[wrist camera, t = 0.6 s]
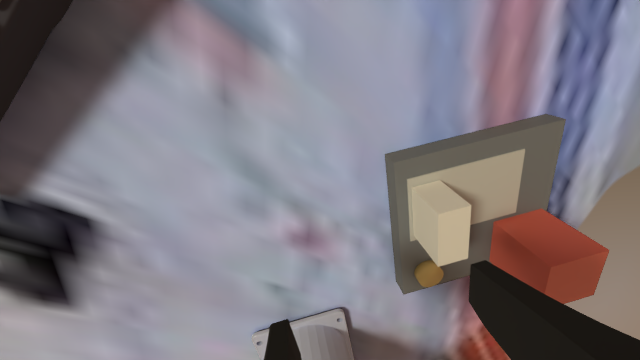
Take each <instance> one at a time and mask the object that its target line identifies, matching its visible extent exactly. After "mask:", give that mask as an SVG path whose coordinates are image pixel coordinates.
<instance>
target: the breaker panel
mask: <svg viewBox="0 0 640 360" xmlns="http://www.w3.org/2000/svg"><path fill="white" fill-rule="evenodd" d="M565 120H566V119H563V118H559V117H556V116H552V115H548V114H544V115H540V116H536V117H532V118H528V119H524V120H520V121H516V122H512V123H508V124H504V125H500V126H496V127H492V128H488V129H484V130H480V131H476V132H472V133H468V134H464V135H460V136H456V137H452V138H448V139H444V140H440V141H436V142H432V143H428V144H424V145H420V146H416V147H412V148H408V149H404V150H400V151H396V152H392V153H388V154H385V161H386V173H387V184H388V195H389V207H390V218H391V229H392V241H393V252H394V263H395V274H396V282H397V284H398V285H399V287H400V289H401V291H402V293H403V294H407V293H410V292H414V291H417V290H421V289H424V288H428V287H432V286H435V285H438V284H441V283H445V282H448V281H452V280H455V279H459V278H462V277H466V276H469V275H470V267H471V264H474V263H477V262H480V261H484V260H486V261H488V262H490V261H489V260H490V250H491V241H492V232H493V223H494V222H495V221H498V220H502V219H505V218H509V217H513V216H516V215H520V214H524V213H527V212H531V211H534V210H538V209H543V210H545V211H546V212H547V207H548V202H549V197H550V192H551V188H552V183H553V178H554V173H555V168H556V164H557V159H558V154H559V149H560V144H561V140H562V135H563V130H564V125H565ZM438 180H440V181H442V182H443V183H444V184H445V185H447V186H448V187H449V188H450V189H452V190H453V191H454V192H455V193H457V194H458V195H459V196H460V197H462V198H463V199H464V200H465V201H467V202H468V203H469V204H470V205H471V220H470V235H469V250H468V258H467V259H464V260H460V261H457V262H453V263H450V264H446V265H443V266H439V267H438V266H437V265H436V264H435V262H434V261H433V260H432V258H431V257H430V256H429V254H428V253H427V252H426V251H425V249H424V248H423V247H422V245H421V244H420V243H419V242H418V240H417V239H416V238H415V236H414V232H413V210H412V187H415V186H419V185H423V184H427V183H431V182H435V181H438ZM490 263H491V262H490ZM491 264H492V263H491Z"/></svg>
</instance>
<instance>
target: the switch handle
mask: <svg viewBox="0 0 640 360" xmlns="http://www.w3.org/2000/svg"><path fill="white" fill-rule="evenodd" d="M412 210H413V232H414V236H415V238H416V239H417V240H418V242H419V243H420V244H421V245H422V247H423V248H424V249H425V251H426V252H427V253H428V254H429V256H430V257H431V258H432V260H433V261H434V262H435V264H436V265H437V266H438V267H439V266H443V265H446V264H450V263H453V262H457V261H460V260H464V259H467V258H468V250H469V235H470V220H471V205H470V204H469V203H468V202H467V201H465V200H464V199H463V198H462V197H460V196H459V195H458V194H457V193H455V192H454V191H453V190H452V189H450V188H449V187H448V186H447V185H445V184H444V183H443V182H442V181H440V180H438V181H435V182H431V183H427V184H423V185H419V186H415V187H412Z"/></svg>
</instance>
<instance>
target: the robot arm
mask: <svg viewBox="0 0 640 360" xmlns="http://www.w3.org/2000/svg"><path fill="white" fill-rule="evenodd" d="M469 302H470V304H471V305H472V307H473V309H474V310H475V312H476V314H477V315H478V317H479V318H480V320H481V321H482V323H483V324H484V326H485V327H486V329H487V330H488V331H489V332H490V334H491V335H492V336H493V337H494V339H495V340H496V341H497V343H498V344H499V345H500V346H501V348H502V349H503V350H504V351H505V353H506V354H507V355H508V356H509V357H510V359H511V360H640V340H638V339H636V338H633V337H631V336H629V335H627V334H624V333H622V332H620V331H618V330H615V329H613V328H611V327H609V326H607V325H604V324H602V323H600V322H598V321H596V320H594V319H592V318H590V317H587V316H586V315H584V314H582V313H580V312H578V311H576V310H574V309H572V308H570V307H568V306H566V305H564V304H562V303H560V302H558V301H557V300H555V299H553V298H551V297H549V296H547V295H545V294H544V293H542V292H540V291H538V290H536V289H535V288H533V287H531V286H529V285H528V284H526V283H524V282H522V281H521V280H519V279H517V278H515V277H514V276H512V275H510V274H509V273H507V272H505V271H503V270H502V269H500V268H498V267H497V266H495V265H493V264H491V263H490V262H488V261H486V260H484V261H480V262H477V263H474V264H471V267H470V287H469ZM252 342H253V344H254V346H255V348H256V351H257V353H258V355H259V357H260V359H261V360H354V356H353V351H352V347H351V342H350V338H349V333H348V328H347V324H346V319H345V315H344V311H343V310H342V309H335V310H331V311H328V312H324V313H321V314H318V315H314V316H311V317H307V318H304V319H300V320H297V321H293V322H290V323H289V320H288V319H286V320H283V321H280V322H276V323H273V324H271V326H270V327H269V329H266V330H262V331H259V332H256V333H254V334H253V335H252Z"/></svg>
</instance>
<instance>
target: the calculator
mask: <svg viewBox="0 0 640 360" xmlns="http://www.w3.org/2000/svg"><path fill="white" fill-rule="evenodd" d="M72 1H73V0H0V121H1V119H2V118H3V116H4V114H5V112H6V111H7V109H8V107H9V106H10V104H11V102H12V100H13V98H14V97H15V95H16V93H17V91H18V89H19V88H20V86H21V84H22V82H23V80H24V79H25V77H26V75H27V73H28V71H29V70H30V68H31V66H32V64H33V62H34V61H35V59H36V57H37V55H38V54H39V52H40V50H41V48H42V46H43V45H44V43H45V41H46V39H47V37H48V36H49V34H50V32H51V30H52V29H53V28H54V27H55V26H56V25H57V24H58V23H59V22H60V21H61V19H62V18H63V16H64V14H65V13H66V11H67V9H68V8H69V6H70V4H71V3H72Z"/></svg>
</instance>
